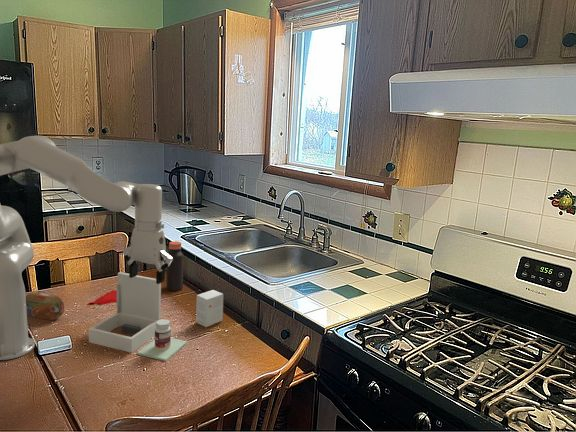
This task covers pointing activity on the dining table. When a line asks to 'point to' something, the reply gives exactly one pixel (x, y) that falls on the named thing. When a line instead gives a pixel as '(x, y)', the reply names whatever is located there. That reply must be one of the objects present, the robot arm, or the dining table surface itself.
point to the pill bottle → (162, 334)
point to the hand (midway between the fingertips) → (146, 279)
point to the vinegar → (175, 267)
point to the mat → (162, 354)
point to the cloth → (106, 298)
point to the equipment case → (131, 314)
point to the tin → (44, 306)
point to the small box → (209, 308)
